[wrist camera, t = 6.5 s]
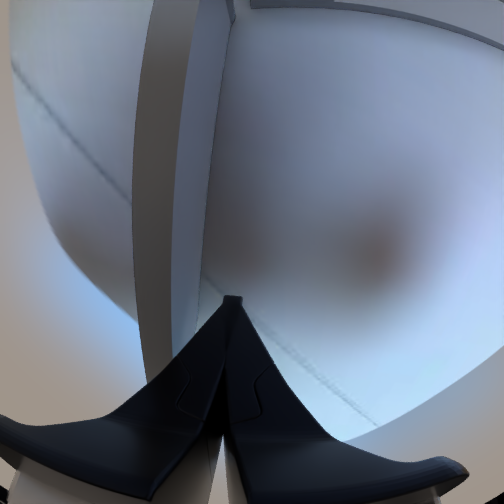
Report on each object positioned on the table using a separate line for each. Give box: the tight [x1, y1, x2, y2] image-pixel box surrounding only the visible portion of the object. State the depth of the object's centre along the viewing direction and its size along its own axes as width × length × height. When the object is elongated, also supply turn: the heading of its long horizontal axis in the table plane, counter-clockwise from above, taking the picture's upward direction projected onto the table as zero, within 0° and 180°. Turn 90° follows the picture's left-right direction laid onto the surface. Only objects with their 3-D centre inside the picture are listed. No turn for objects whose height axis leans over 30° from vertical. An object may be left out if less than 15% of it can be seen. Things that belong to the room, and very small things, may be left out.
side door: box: [132, 0, 235, 384], centre depth 8 cm, size 14×1×6 cm, turn 172°
